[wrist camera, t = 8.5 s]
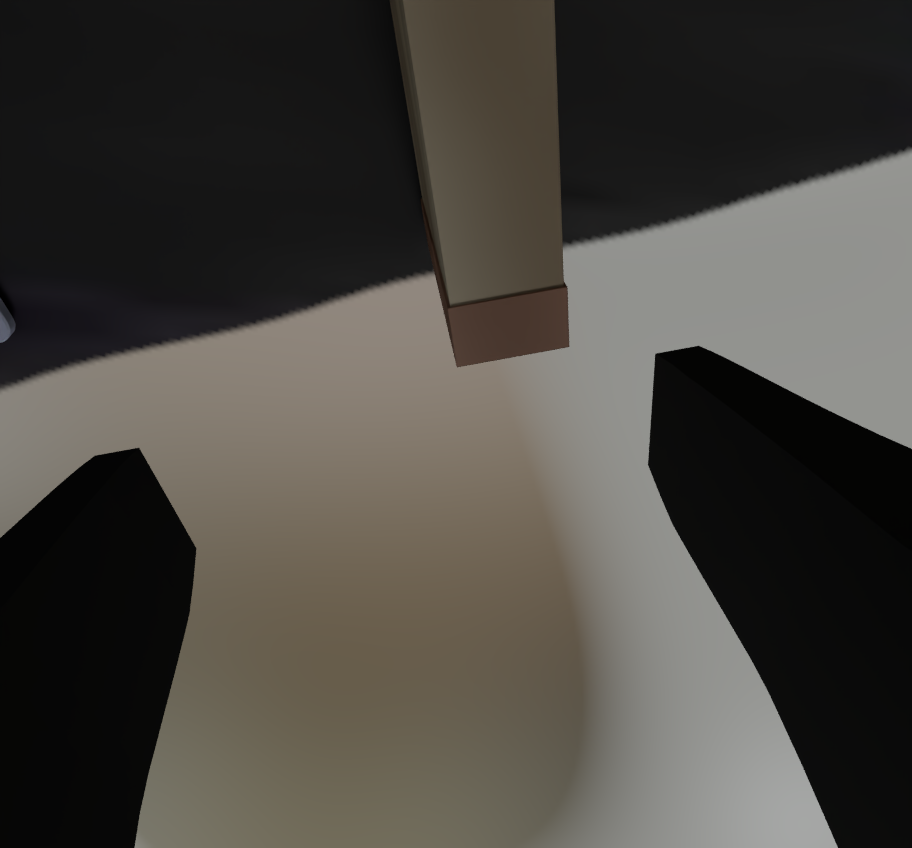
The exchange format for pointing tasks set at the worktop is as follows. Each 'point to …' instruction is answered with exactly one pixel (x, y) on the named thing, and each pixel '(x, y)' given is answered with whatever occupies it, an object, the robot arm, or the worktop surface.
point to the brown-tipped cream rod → (488, 168)
